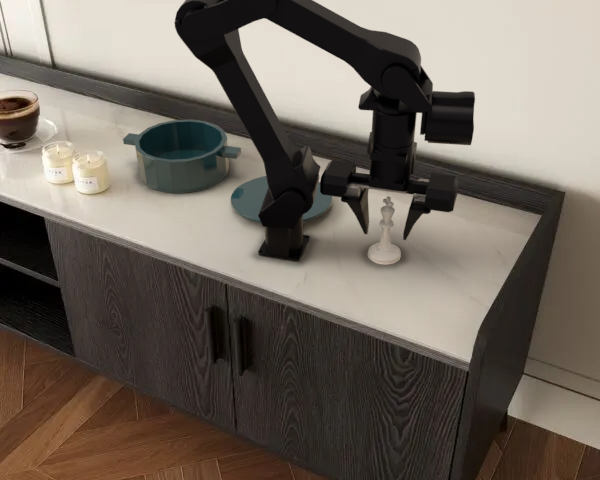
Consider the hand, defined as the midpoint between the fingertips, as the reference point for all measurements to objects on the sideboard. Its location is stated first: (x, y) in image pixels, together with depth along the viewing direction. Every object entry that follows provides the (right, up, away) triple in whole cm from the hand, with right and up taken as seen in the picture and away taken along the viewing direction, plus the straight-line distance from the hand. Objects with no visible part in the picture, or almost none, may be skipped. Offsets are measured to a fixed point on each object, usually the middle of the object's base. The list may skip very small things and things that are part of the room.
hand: (385, 235), depth 112 cm
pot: (-33, +13, +23) cm, 42 cm away
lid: (-16, +7, +13) cm, 21 cm away
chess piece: (0, -3, +2) cm, 4 cm away
